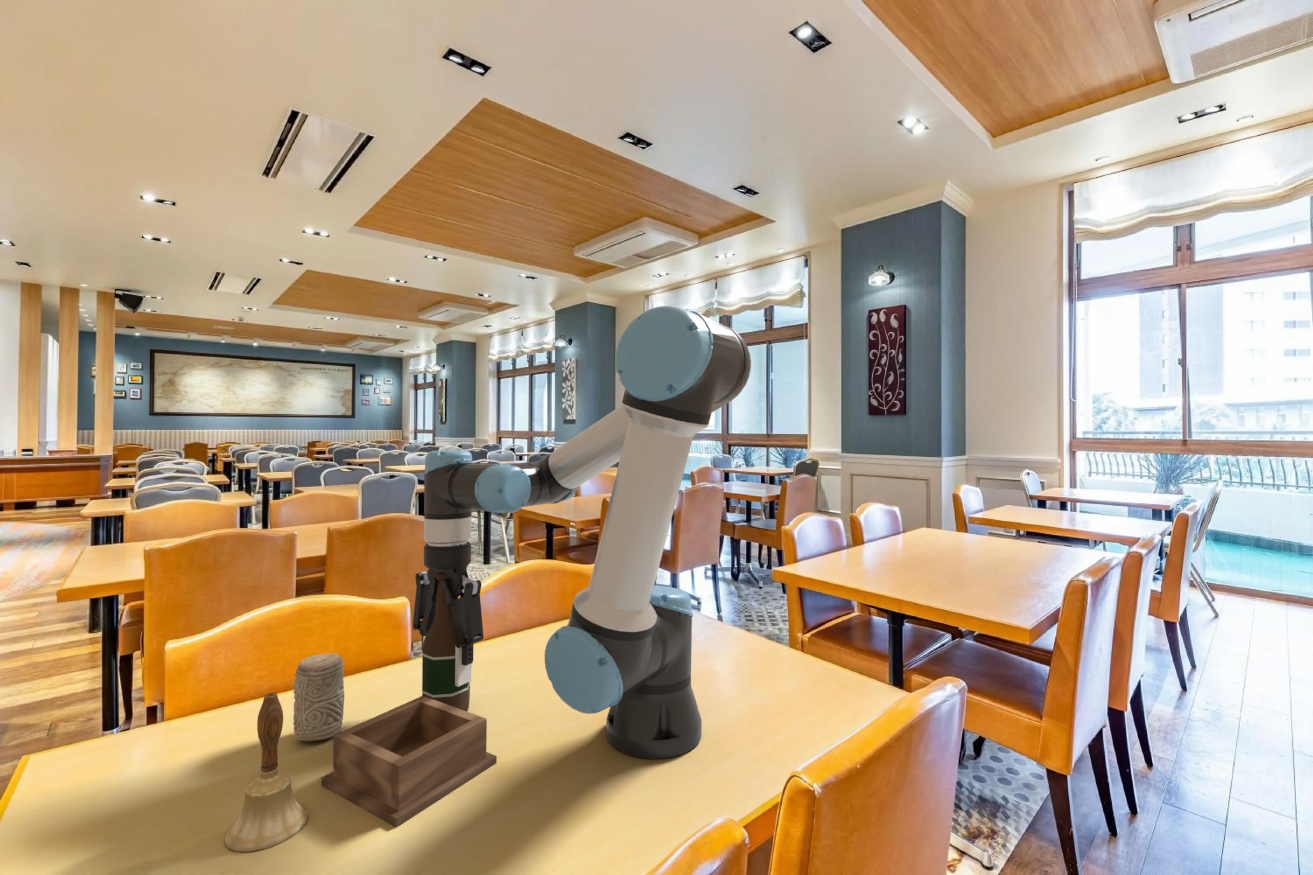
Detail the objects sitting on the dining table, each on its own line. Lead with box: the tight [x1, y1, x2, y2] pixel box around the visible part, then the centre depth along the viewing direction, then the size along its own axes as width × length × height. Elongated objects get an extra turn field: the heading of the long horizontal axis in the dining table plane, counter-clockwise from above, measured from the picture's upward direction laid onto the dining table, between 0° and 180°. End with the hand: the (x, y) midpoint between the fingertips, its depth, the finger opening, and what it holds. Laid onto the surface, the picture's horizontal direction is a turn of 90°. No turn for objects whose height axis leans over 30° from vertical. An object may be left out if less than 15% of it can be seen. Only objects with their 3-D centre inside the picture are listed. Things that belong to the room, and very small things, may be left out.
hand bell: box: [224, 692, 309, 853], centre depth 69 cm, size 8×8×16 cm
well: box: [320, 695, 497, 828], centre depth 80 cm, size 16×16×6 cm
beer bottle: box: [421, 573, 471, 712], centre depth 97 cm, size 8×8×24 cm
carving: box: [292, 652, 345, 742], centre depth 90 cm, size 6×8×12 cm
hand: (446, 677), depth 97 cm, fingers closed on beer bottle, 7 cm apart
